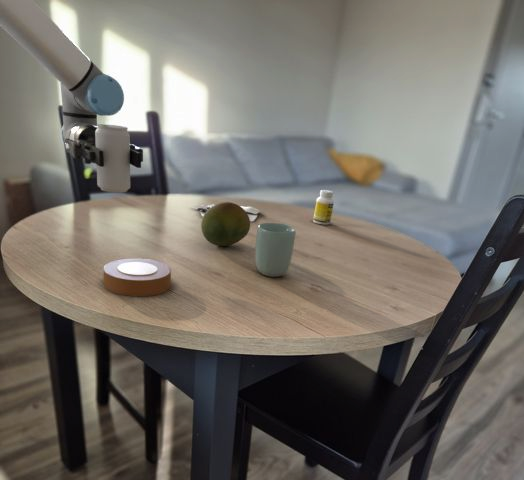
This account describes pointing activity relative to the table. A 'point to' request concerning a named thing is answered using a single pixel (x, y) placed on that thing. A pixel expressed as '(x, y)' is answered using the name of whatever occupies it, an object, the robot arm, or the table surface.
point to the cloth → (249, 210)
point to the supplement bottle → (324, 208)
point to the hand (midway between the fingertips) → (120, 159)
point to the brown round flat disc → (137, 277)
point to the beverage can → (113, 158)
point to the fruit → (225, 224)
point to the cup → (274, 248)
